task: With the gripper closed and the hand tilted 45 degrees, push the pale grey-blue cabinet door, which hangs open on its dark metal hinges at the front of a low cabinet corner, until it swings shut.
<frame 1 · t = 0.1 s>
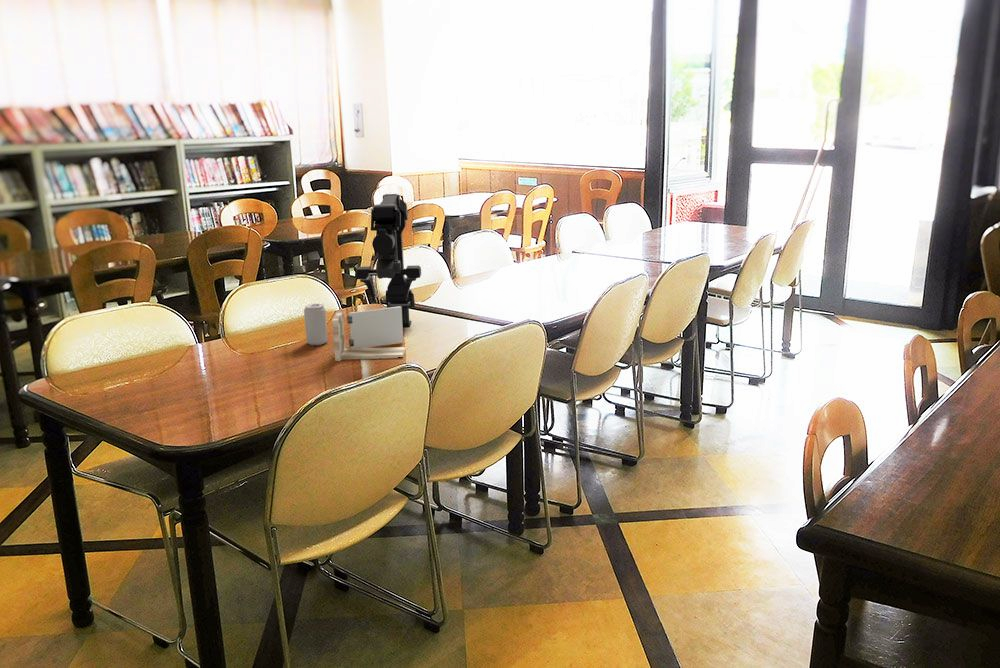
hand: (390, 301, 236), 15 cm above the table, tool pointing down, fingers open, 9 cm apart
cabinet corner: (352, 350, 239), on the table
beverage can: (317, 343, 247), on the table
cabinet door: (375, 327, 240), point 6 cm above the table, hinge at 25.0°
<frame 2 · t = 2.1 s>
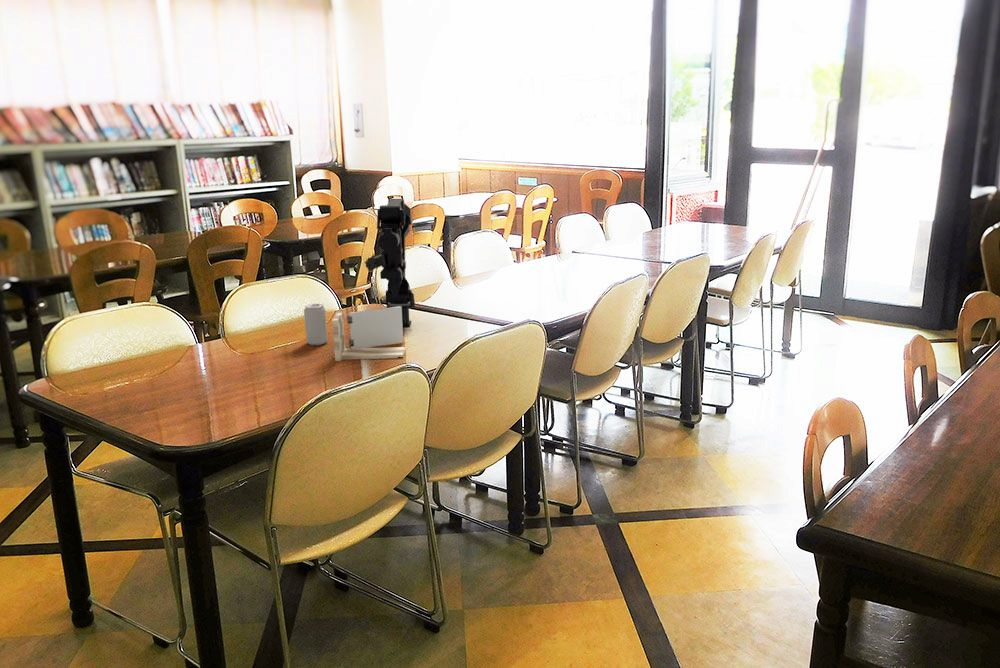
hand: (395, 296, 250), 13 cm above the table, tool pointing down, fingers closed
nothing on the table moved.
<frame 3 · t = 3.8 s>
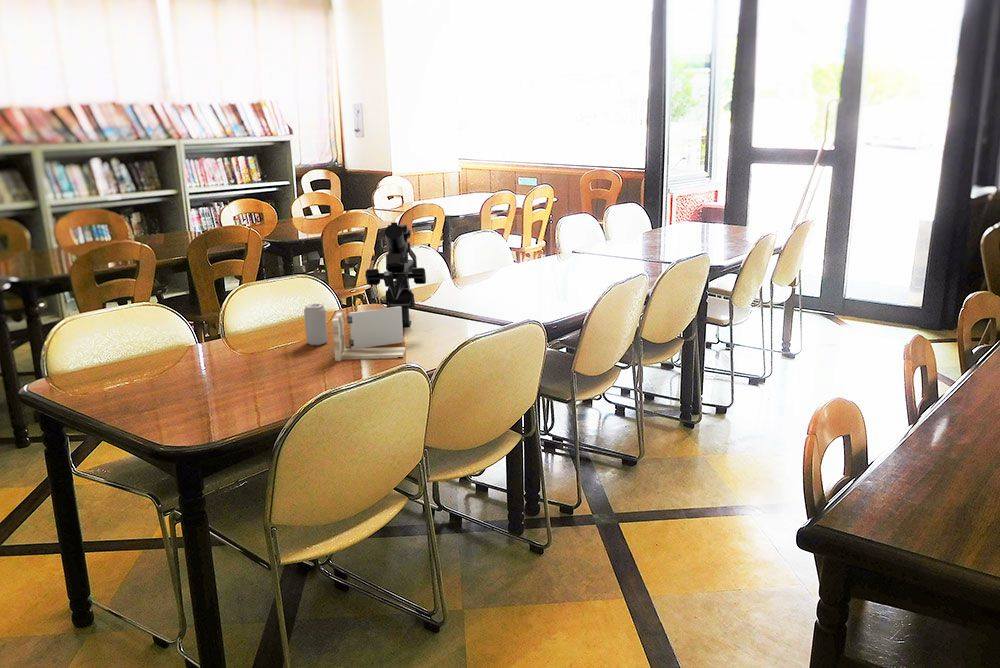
hand: (395, 298, 250), 12 cm above the table, tool tilted 45°, fingers closed
nothing on the table moved.
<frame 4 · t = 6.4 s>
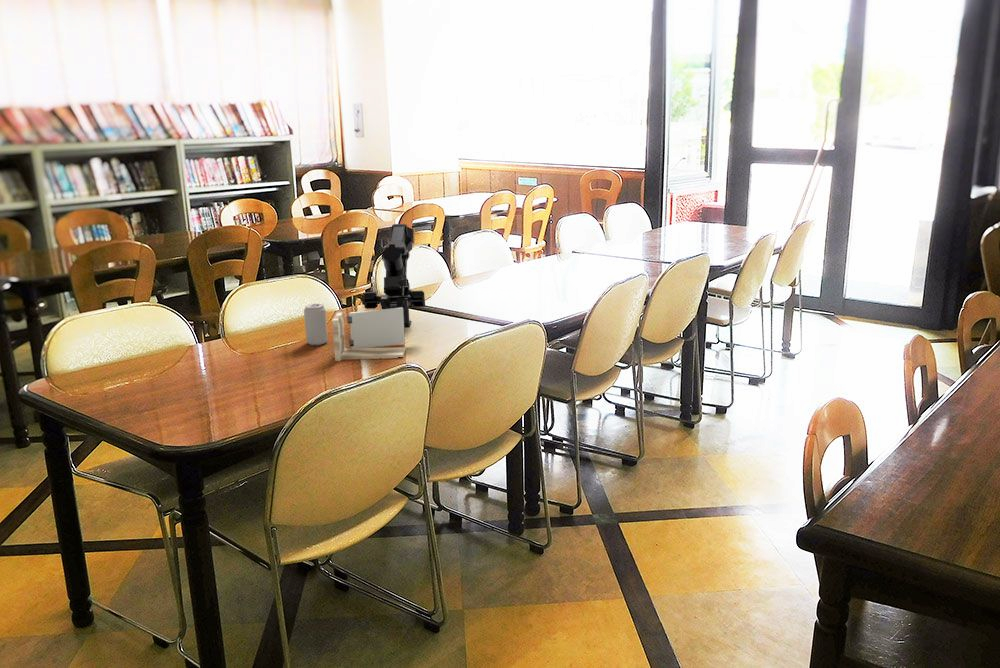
hand: (393, 323, 242), 7 cm above the table, tool tilted 45°, fingers closed
cabinet door: (376, 328, 240), point 6 cm above the table, hinge at 18.4°, touching gripper
everything else where it was.
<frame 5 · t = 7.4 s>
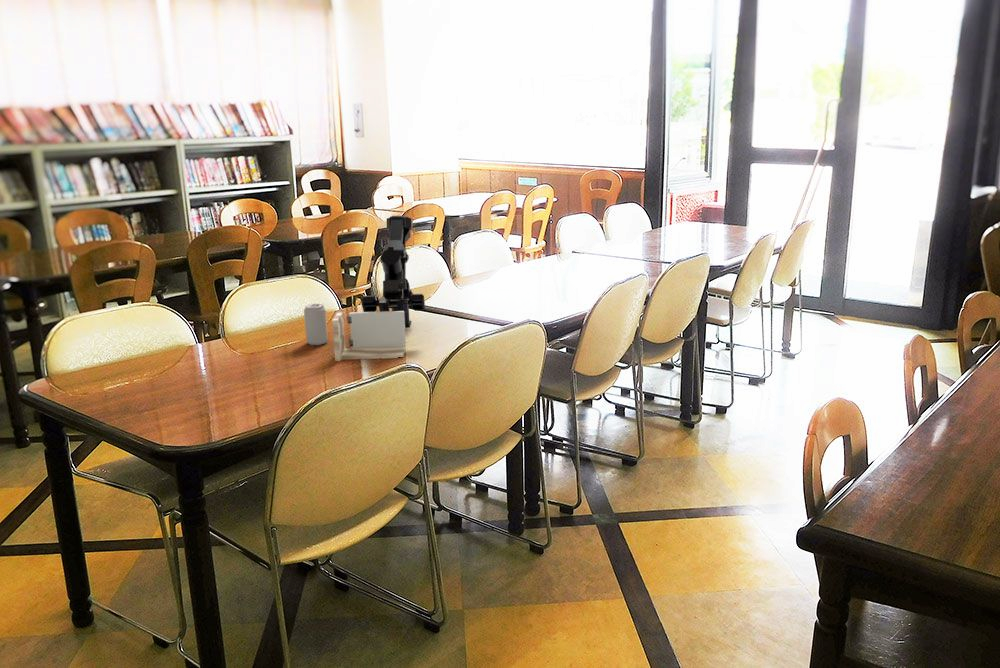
hand: (393, 327, 239), 7 cm above the table, tool tilted 45°, fingers closed on cabinet door
cabinet door: (376, 330, 238), point 6 cm above the table, hinge at 1.6°, touching gripper
everything else where it was.
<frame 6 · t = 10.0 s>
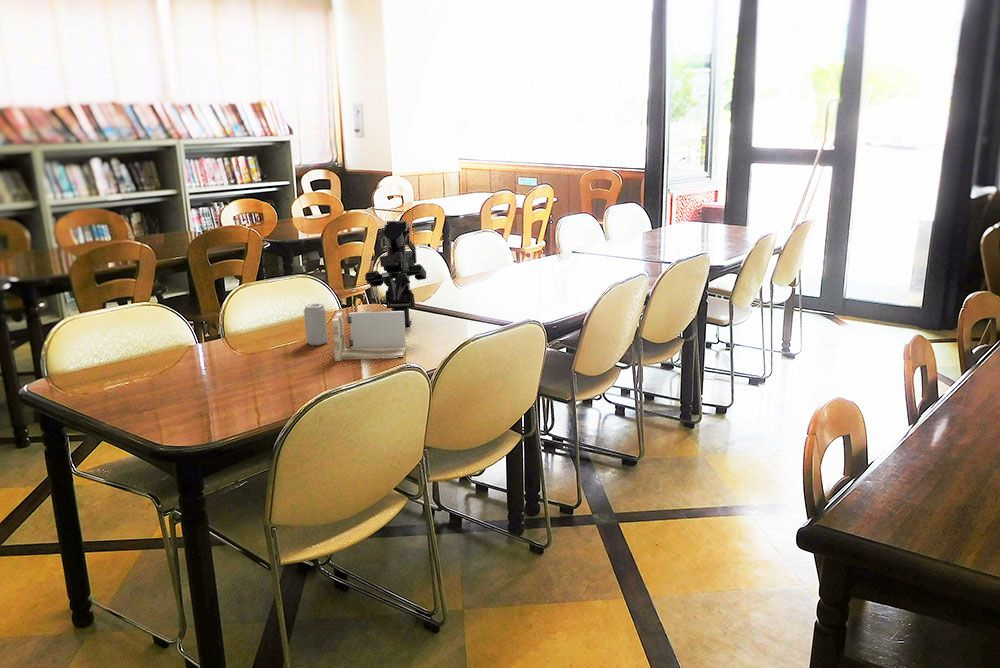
hand: (395, 299, 250), 12 cm above the table, tool tilted 40°, fingers closed
cabinet door: (376, 330, 238), point 6 cm above the table, hinge at 1.5°
everything else where it was.
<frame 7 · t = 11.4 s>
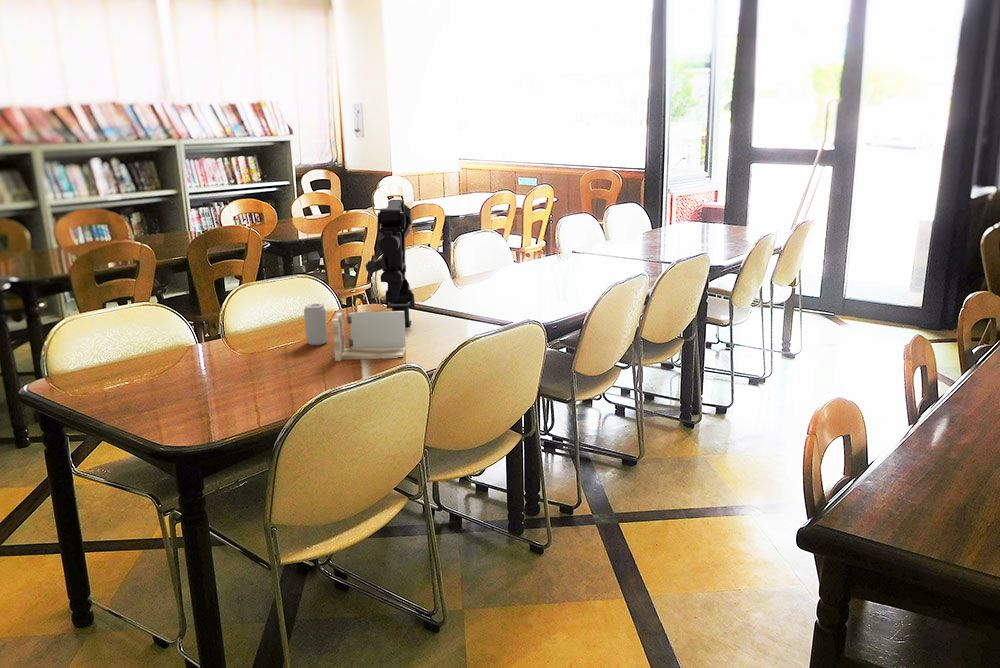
hand: (395, 299, 250), 12 cm above the table, tool pointing down, fingers closed
nothing on the table moved.
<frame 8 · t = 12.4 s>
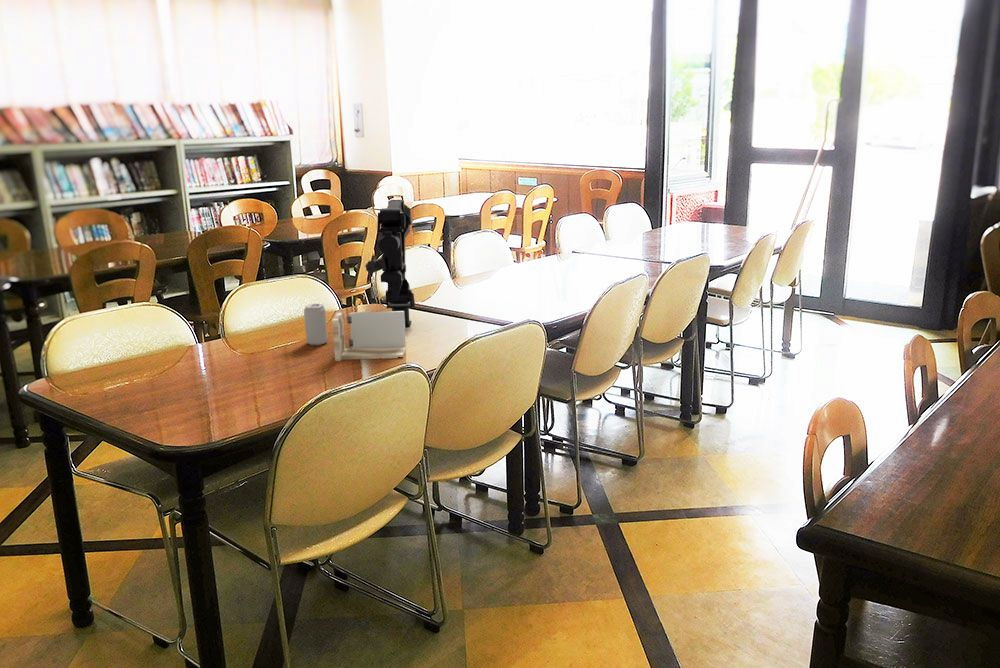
hand: (395, 299, 250), 12 cm above the table, tool pointing down, fingers closed
nothing on the table moved.
at the end: cabinet door at +2° (first picture: +25°); beverage can moved 0.2 cm from its start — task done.
